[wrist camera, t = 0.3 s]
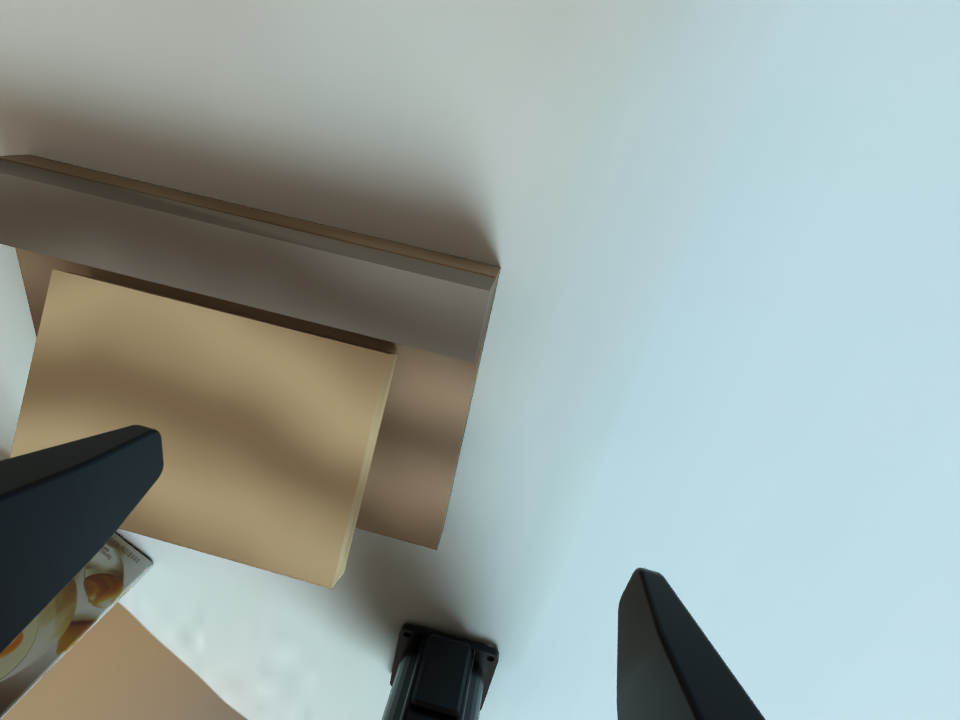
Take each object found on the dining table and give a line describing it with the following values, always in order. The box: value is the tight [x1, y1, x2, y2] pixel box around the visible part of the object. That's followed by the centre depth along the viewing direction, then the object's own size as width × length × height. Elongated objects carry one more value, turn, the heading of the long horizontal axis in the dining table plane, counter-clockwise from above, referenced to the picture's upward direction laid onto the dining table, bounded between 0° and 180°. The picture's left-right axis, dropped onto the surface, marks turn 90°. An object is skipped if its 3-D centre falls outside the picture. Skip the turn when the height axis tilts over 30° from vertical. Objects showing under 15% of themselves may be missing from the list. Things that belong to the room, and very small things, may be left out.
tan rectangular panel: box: [10, 269, 398, 589], centre depth 21 cm, size 10×15×2 cm, turn 78°
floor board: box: [0, 155, 501, 550], centre depth 23 cm, size 16×22×3 cm
